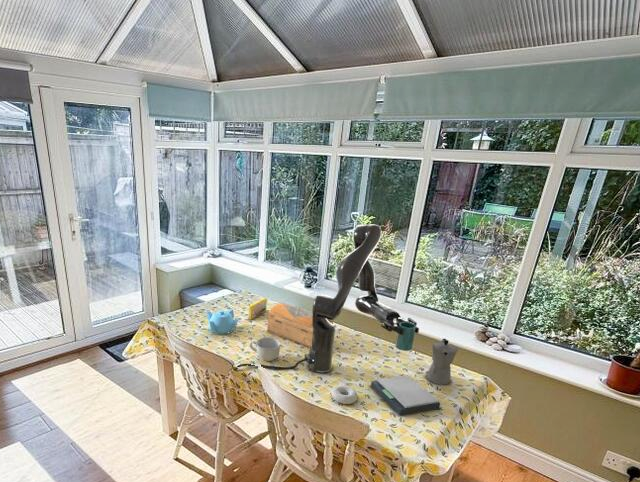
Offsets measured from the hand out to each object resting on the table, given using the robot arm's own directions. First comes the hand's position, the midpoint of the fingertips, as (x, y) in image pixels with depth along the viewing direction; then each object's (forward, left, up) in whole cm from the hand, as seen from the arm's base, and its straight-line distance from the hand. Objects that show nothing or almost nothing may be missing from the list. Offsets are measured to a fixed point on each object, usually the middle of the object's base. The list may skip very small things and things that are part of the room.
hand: (410, 331), depth 163 cm
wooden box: (-26, +51, -22) cm, 61 cm away
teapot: (-63, +66, -22) cm, 94 cm away
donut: (-30, -7, -22) cm, 38 cm away
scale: (-7, -12, -22) cm, 26 cm away
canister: (0, +2, -8) cm, 8 cm away
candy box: (-39, +81, -22) cm, 93 cm away
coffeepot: (+16, -3, -22) cm, 27 cm away
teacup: (-50, +32, -22) cm, 64 cm away
